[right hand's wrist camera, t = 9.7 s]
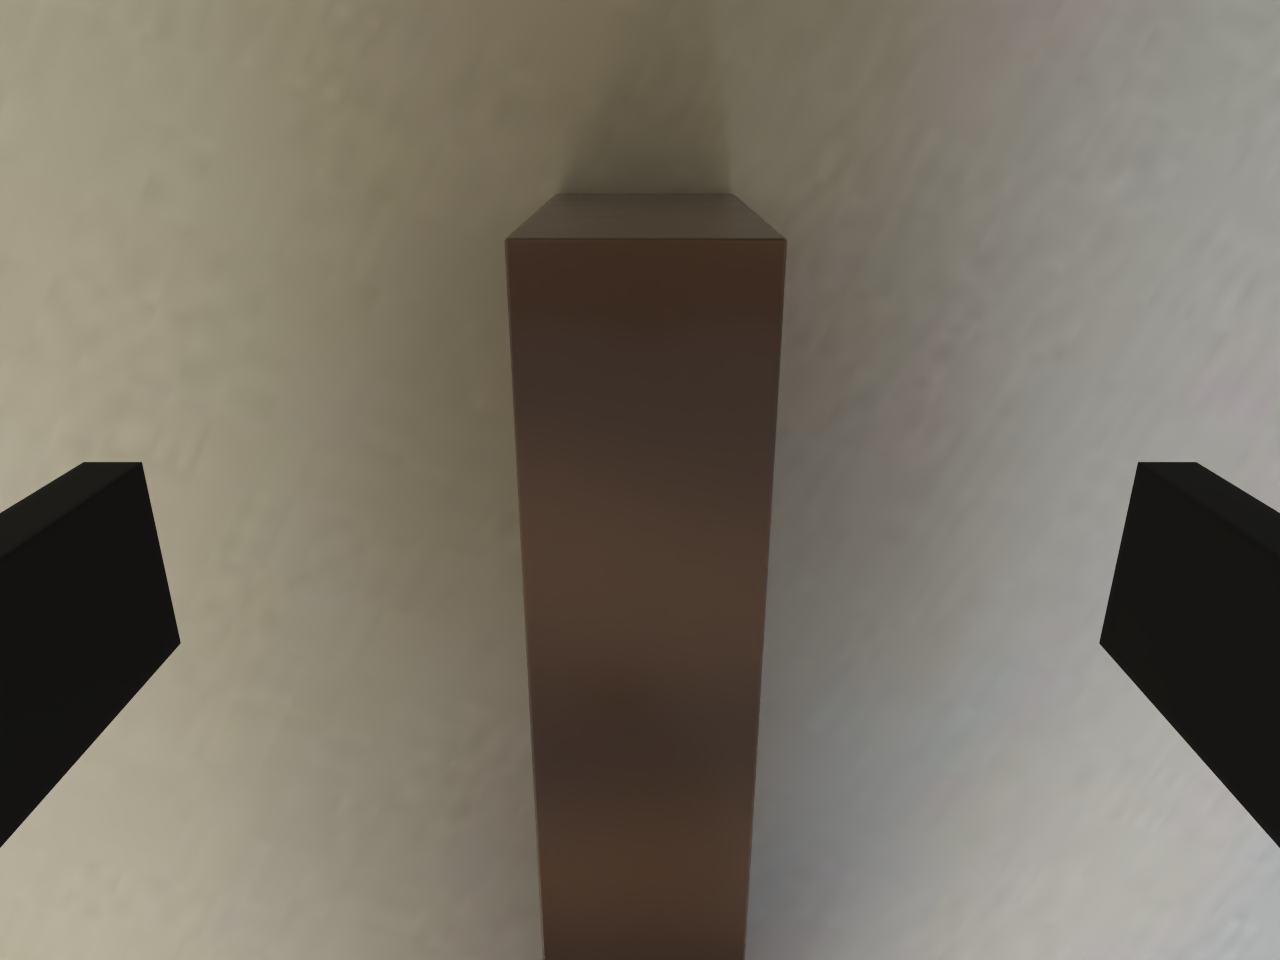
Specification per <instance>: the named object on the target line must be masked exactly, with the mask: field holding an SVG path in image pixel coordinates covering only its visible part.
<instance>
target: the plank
mask: <svg viewBox="0 0 1280 960" xmlns="http://www.w3.org/2000/svg"><path fill="white" fill-rule="evenodd" d="M786 252H787V240H786V239H785V238H784V237H783V236H782V235H781V234H779V233H778V232H777V231H776V230H775V229H774V228H772V227H771V226H770V225H769V224H768V223H766V222H765V221H764V220H763V219H762V218H761V217H759V216H758V215H757V214H756V213H755V212H754V211H752V210H751V209H750V208H749V207H748V206H746V205H745V204H744V203H743V202H742V201H741V200H739V199H738V198H737V197H736V196H735V195H733V194H557V195H555V196H554V197H553V198H552V199H550V200H549V201H548V202H547V203H546V204H545V205H544V206H542V207H541V208H540V209H539V210H538V211H537V212H536V213H535V214H533V215H532V216H531V217H530V218H529V219H528V220H527V221H526V222H524V223H523V224H522V225H521V226H520V227H519V228H518V229H516V230H515V231H514V232H513V233H512V234H511V235H510V236H509V237H507V238H506V240H505V255H506V274H507V293H508V312H509V330H510V349H511V368H512V387H513V405H514V424H515V443H516V462H517V480H518V499H519V518H520V537H521V555H522V574H523V593H524V612H525V630H526V649H527V668H528V687H529V705H530V724H531V743H532V762H533V780H534V799H535V818H536V837H537V855H538V874H539V893H540V912H541V930H542V949H543V960H745V947H746V930H747V914H748V897H749V880H750V863H751V846H752V829H753V812H754V795H755V778H756V761H757V744H758V727H759V710H760V693H761V676H762V659H763V642H764V625H765V608H766V591H767V574H768V557H769V540H770V523H771V507H772V490H773V473H774V456H775V439H776V422H777V405H778V388H779V371H780V354H781V337H782V320H783V303H784V286H785V269H786Z"/></svg>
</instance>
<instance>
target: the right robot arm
mask: <svg viewBox="0 0 1280 960" xmlns="http://www.w3.org/2000/svg"><path fill="white" fill-rule="evenodd" d="M179 644H180V638H179V633H178V629H177V624H176V619H175V615H174V610H173V605H172V601H171V596H170V591H169V587H168V582H167V577H166V573H165V568H164V563H163V559H162V554H161V549H160V545H159V540H158V535H157V531H156V526H155V521H154V517H153V512H152V507H151V503H150V498H149V493H148V489H147V484H146V479H145V475H144V470H143V465H142V462H83V463H82V464H80V465H78V466H77V467H75V468H73V469H72V470H70V471H69V472H67V473H65V474H64V475H62V476H60V477H59V478H57V479H55V480H54V481H52V482H51V483H49V484H47V485H46V486H44V487H42V488H41V489H39V490H37V491H36V492H34V493H33V494H31V495H29V496H28V497H26V498H24V499H23V500H21V501H19V502H18V503H16V504H15V505H13V506H11V507H10V508H8V509H6V510H5V511H3V512H1V513H0V847H1V846H2V845H3V844H4V843H5V842H6V841H7V839H8V838H9V837H10V836H11V835H12V834H13V833H14V832H15V830H16V829H17V828H18V827H19V826H20V825H21V824H22V822H23V821H24V820H25V819H26V818H27V817H28V816H29V815H30V813H31V812H32V811H33V810H34V809H35V808H36V807H37V805H38V804H39V803H40V802H41V801H42V800H43V799H44V798H45V796H46V795H47V794H48V793H49V792H50V791H51V790H52V788H53V787H54V786H55V785H56V784H57V783H58V782H59V781H60V779H61V778H62V777H63V776H64V775H65V774H66V773H67V771H68V770H69V769H70V768H71V767H72V766H73V765H74V764H75V762H76V761H77V760H78V759H79V758H80V757H81V756H82V754H83V753H84V752H85V751H86V750H87V749H88V748H89V747H90V745H91V744H92V743H93V742H94V741H95V740H96V739H97V737H98V736H99V735H100V734H101V733H102V732H103V731H104V730H105V728H106V727H107V726H108V725H109V724H110V723H111V722H112V720H113V719H114V718H115V717H116V716H117V715H118V714H119V713H120V711H121V710H122V709H123V708H124V707H125V706H126V705H127V703H128V702H129V701H130V700H131V699H132V698H133V697H134V695H135V694H136V693H137V692H138V691H139V690H140V689H141V688H142V686H143V685H144V684H145V683H146V682H147V681H148V680H149V678H150V677H151V676H152V675H153V674H154V673H155V672H156V671H157V669H158V668H159V667H160V666H161V665H162V664H163V663H164V661H165V660H166V659H167V658H168V657H169V656H170V655H171V654H172V652H173V651H174V650H175V649H176V648H177V647H178V646H179ZM1100 644H1101V646H1102V647H1103V648H1104V649H1105V650H1106V651H1107V652H1108V654H1109V655H1110V656H1111V657H1112V658H1113V659H1114V660H1115V661H1116V663H1117V664H1118V665H1119V666H1120V667H1121V668H1122V669H1123V671H1124V672H1125V673H1126V674H1127V675H1128V676H1129V677H1130V678H1131V680H1132V681H1133V682H1134V683H1135V684H1136V685H1137V686H1138V688H1139V689H1140V690H1141V691H1142V692H1143V693H1144V694H1145V695H1146V697H1147V698H1148V699H1149V700H1150V701H1151V702H1152V703H1153V705H1154V706H1155V707H1156V708H1157V709H1158V710H1159V711H1160V713H1161V714H1162V715H1163V716H1164V717H1165V718H1166V719H1167V720H1168V722H1169V723H1170V724H1171V725H1172V726H1173V727H1174V728H1175V730H1176V731H1177V732H1178V733H1179V734H1180V735H1181V736H1182V737H1183V739H1184V740H1185V741H1186V742H1187V743H1188V744H1189V745H1190V747H1191V748H1192V749H1193V750H1194V751H1195V752H1196V753H1197V754H1198V756H1199V757H1200V758H1201V759H1202V760H1203V761H1204V762H1205V764H1206V765H1207V766H1208V767H1209V768H1210V769H1211V770H1212V771H1213V773H1214V774H1215V775H1216V776H1217V777H1218V778H1219V779H1220V781H1221V782H1222V783H1223V784H1224V785H1225V786H1226V787H1227V788H1228V790H1229V791H1230V792H1231V793H1232V794H1233V795H1234V796H1235V798H1236V799H1237V800H1238V801H1239V802H1240V803H1241V804H1242V805H1243V807H1244V808H1245V809H1246V810H1247V811H1248V812H1249V813H1250V815H1251V816H1252V817H1253V818H1254V819H1255V820H1256V821H1257V822H1258V824H1259V825H1260V826H1261V827H1262V828H1263V829H1264V830H1265V832H1266V833H1267V834H1268V835H1269V836H1270V837H1271V838H1272V839H1273V841H1274V842H1275V843H1276V844H1277V845H1278V846H1279V847H1280V513H1279V512H1277V511H1275V510H1274V509H1272V508H1270V507H1269V506H1267V505H1265V504H1264V503H1262V502H1261V501H1259V500H1257V499H1256V498H1254V497H1252V496H1251V495H1249V494H1247V493H1246V492H1244V491H1243V490H1241V489H1239V488H1238V487H1236V486H1234V485H1233V484H1231V483H1229V482H1228V481H1226V480H1225V479H1223V478H1221V477H1220V476H1218V475H1216V474H1215V473H1213V472H1211V471H1210V470H1208V469H1207V468H1205V467H1203V466H1202V465H1200V464H1198V463H1197V462H1138V465H1137V470H1136V475H1135V479H1134V484H1133V489H1132V493H1131V498H1130V503H1129V507H1128V512H1127V517H1126V521H1125V526H1124V531H1123V535H1122V540H1121V545H1120V549H1119V554H1118V559H1117V563H1116V568H1115V573H1114V577H1113V582H1112V587H1111V591H1110V596H1109V601H1108V605H1107V610H1106V615H1105V619H1104V624H1103V629H1102V633H1101V638H1100Z"/></svg>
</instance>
